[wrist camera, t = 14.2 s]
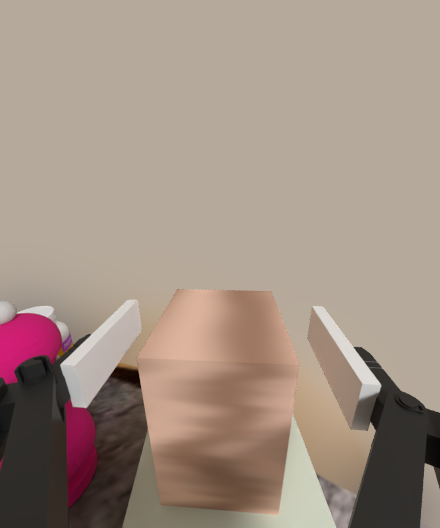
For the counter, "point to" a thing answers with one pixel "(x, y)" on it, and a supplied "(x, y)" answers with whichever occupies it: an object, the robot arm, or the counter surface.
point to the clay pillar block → (219, 400)
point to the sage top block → (231, 522)
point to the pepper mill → (77, 418)
